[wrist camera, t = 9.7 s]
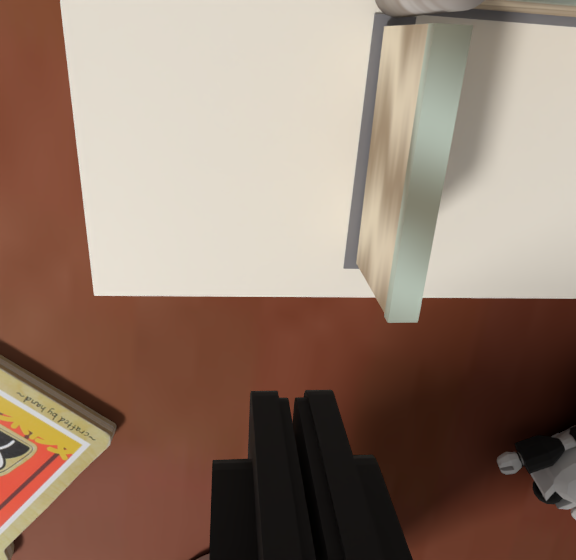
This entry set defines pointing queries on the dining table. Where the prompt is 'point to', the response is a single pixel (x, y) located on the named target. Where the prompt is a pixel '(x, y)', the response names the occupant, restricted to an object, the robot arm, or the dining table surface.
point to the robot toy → (547, 467)
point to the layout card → (309, 148)
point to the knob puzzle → (40, 447)
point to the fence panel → (409, 159)
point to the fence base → (476, 6)
